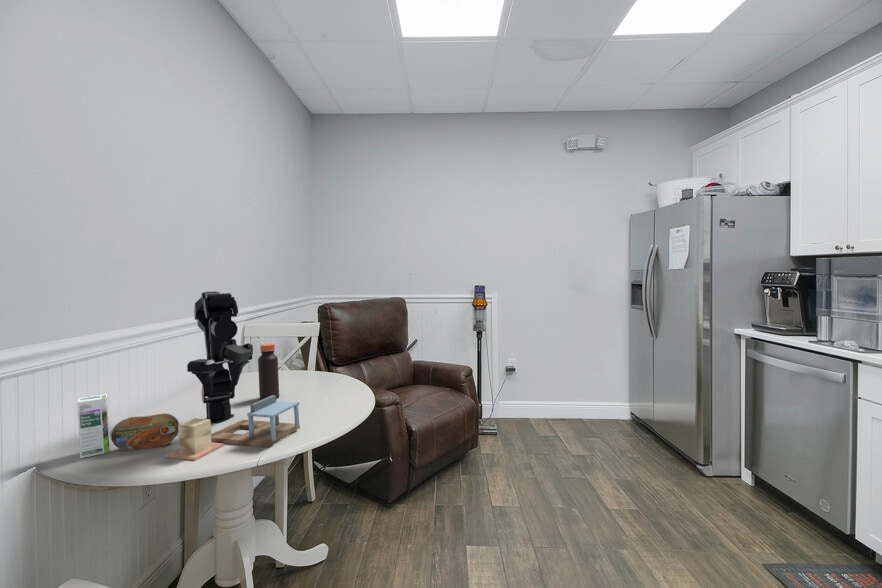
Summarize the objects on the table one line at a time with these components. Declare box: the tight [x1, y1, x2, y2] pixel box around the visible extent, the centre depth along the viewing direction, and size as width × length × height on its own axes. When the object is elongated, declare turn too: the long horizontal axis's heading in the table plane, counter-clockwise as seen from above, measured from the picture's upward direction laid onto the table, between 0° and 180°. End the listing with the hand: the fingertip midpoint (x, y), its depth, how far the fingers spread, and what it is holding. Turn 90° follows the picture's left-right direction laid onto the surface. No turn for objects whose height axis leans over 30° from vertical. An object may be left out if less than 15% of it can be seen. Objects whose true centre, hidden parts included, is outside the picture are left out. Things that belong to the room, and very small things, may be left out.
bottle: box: [257, 343, 280, 401], centre depth 151 cm, size 7×7×20 cm
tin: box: [110, 413, 180, 452], centre depth 109 cm, size 15×3×8 cm, turn 106°
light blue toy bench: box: [246, 395, 300, 441], centre depth 113 cm, size 8×12×9 cm
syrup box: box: [76, 393, 111, 459], centre depth 106 cm, size 6×6×14 cm
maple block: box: [178, 418, 212, 454], centre depth 105 cm, size 5×5×7 cm
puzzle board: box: [211, 419, 301, 448], centre depth 115 cm, size 20×14×1 cm
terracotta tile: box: [165, 442, 225, 461], centre depth 105 cm, size 9×9×1 cm
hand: (223, 389), depth 119 cm, fingers open, 9 cm apart
